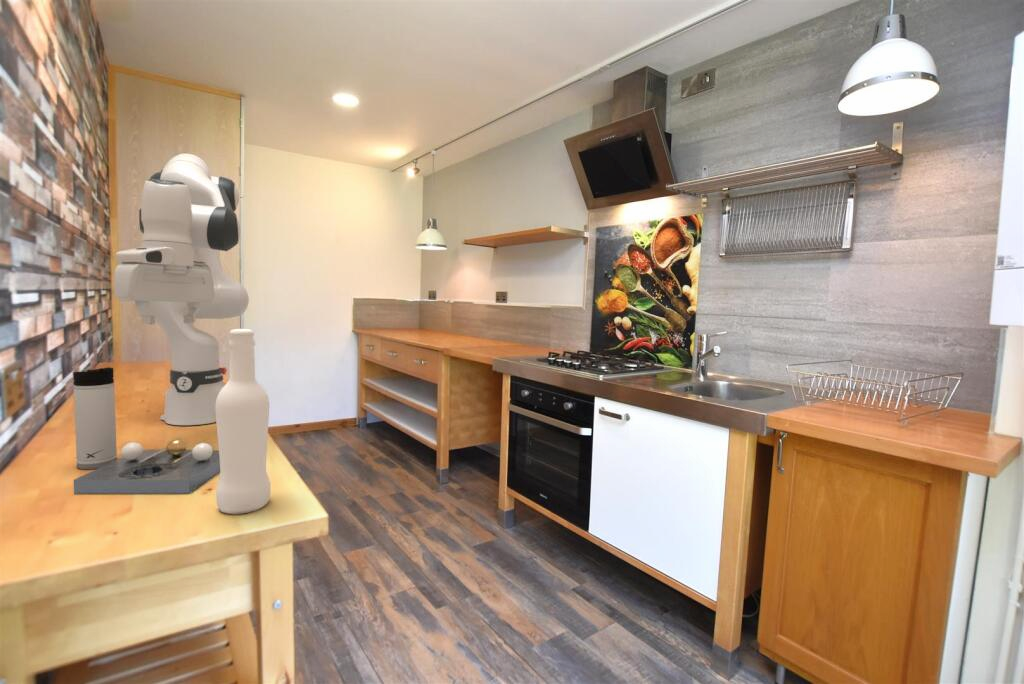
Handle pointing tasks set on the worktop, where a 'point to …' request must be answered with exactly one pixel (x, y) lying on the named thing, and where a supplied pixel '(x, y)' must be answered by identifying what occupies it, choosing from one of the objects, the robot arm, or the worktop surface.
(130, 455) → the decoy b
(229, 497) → the bottle
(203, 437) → the worktop surface
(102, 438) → the travel mug
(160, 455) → the plate
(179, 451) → the brass ball
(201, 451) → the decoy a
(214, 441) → the worktop surface
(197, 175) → the robot arm
